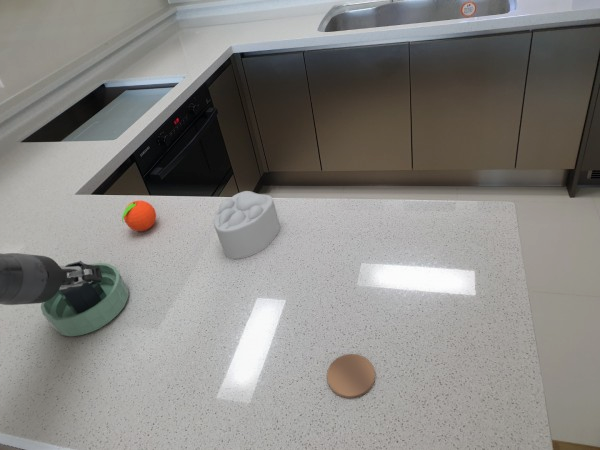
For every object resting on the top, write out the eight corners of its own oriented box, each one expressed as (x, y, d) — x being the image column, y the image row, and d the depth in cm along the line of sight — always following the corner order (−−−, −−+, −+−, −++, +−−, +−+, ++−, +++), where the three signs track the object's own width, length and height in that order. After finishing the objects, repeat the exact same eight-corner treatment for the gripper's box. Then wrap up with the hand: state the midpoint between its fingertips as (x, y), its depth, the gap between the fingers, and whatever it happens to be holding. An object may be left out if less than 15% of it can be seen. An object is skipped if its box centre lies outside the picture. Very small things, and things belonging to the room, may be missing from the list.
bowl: (80, 350, 79) (66, 331, 76) (41, 320, 87) (27, 302, 84) (144, 295, 87) (134, 276, 84) (103, 272, 95) (92, 254, 92)
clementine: (141, 243, 101) (128, 217, 97) (121, 236, 105) (107, 211, 101) (166, 221, 106) (155, 196, 102) (147, 216, 110) (135, 191, 105)
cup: (86, 322, 84) (63, 290, 78) (69, 311, 87) (46, 279, 82) (113, 300, 87) (92, 267, 82) (96, 290, 90) (75, 258, 85)
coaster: (359, 406, 62) (359, 404, 61) (318, 384, 66) (317, 382, 65) (383, 368, 66) (383, 366, 65) (343, 349, 69) (343, 347, 69)
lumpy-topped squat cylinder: (286, 224, 97) (278, 190, 92) (250, 264, 89) (239, 229, 84) (248, 215, 102) (237, 182, 97) (211, 252, 94) (197, 219, 89)
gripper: (-23, 313, 68) (46, 307, 85) (70, 294, 68) (121, 292, 84) (-27, 263, 70) (42, 267, 86) (64, 245, 69) (116, 252, 86)
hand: (81, 280), depth 85 cm, fingers closed on cup, 6 cm apart
